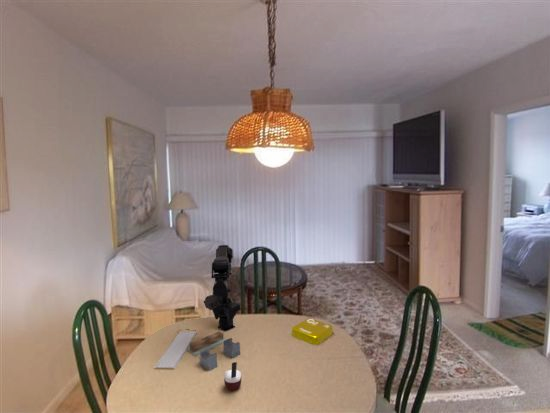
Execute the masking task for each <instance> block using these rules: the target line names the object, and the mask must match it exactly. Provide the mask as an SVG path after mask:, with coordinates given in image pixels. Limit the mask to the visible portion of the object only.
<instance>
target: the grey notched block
mask: <svg viewBox="0 0 550 413" xmlns="http://www.w3.org/2000/svg"><path fill="white" fill-rule="evenodd" d="M210 351H211V349H210V350H209V349H206V350H204V351H201V352H200V354H199V361H200V363H199V364H200V366H201V367H202V368H203V369H205V370H207V371H208V372H210V371H213V370H214V369H216V368H218V354H217V352H214V353H211V352H210Z"/></svg>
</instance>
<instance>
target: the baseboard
mask: <svg viewBox="0 0 550 413" xmlns="http://www.w3.org/2000/svg"><path fill="white" fill-rule="evenodd" d="M180 331H181V329H178V331H177V335H176V336H175V337H174V339H173V341H172V342H171V343H170V345H169V346H168V347H167V349H166V351H165V352H164V353H163V354H162V356H161V358H160V359H159V361H157V363H156V364H155V365H154V367H153V370H173V369H174V370H175V369H176V368H175V367H177V366H178V364H179V362H180V361H181V359H182V358H183V356H184V355H185V353H186V351H187V349H188V348H189V347H190V343H192V341H193V339H194V338H195V336H196V335H197V331H196V329H194V330H193V331H190V329H189V328H187V329H185V331H181V332H180ZM181 357H182V358H181Z"/></svg>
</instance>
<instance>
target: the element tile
mask: <svg viewBox="0 0 550 413" xmlns="http://www.w3.org/2000/svg"><path fill="white" fill-rule="evenodd" d="M333 330H334V329H333V325H331V324H328V323H325V322H323V321H320V320H316V319H313V318H309V317H308V318H306V319H304V320H302V321H300V322H298V323H297V324H296V325H294V326H292V328H291V337H292V338H294V339H297V340H300V341H303V342H305V343H308V344H311V345H313V346H318V345H320V344H322V343H323V342H324V341H326V340H328V339H329V338H330V337H332V336H333Z"/></svg>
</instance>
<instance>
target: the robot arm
mask: <svg viewBox="0 0 550 413" xmlns="http://www.w3.org/2000/svg"><path fill="white" fill-rule="evenodd" d="M233 259H234V250H233V248H231V247H230V246H229V245H228V244H222V245H221V244H220V245H217V248H216V249H215V258H214V259H213V262H211V279H214V283H213V286H212V294H210V295H207V296H205V298H204V301H203V303H204V307H205V308H206V309H208V310H210V311H212V313H213V316H214V318H215V320H218V326H217V328H218V329H219V330H222V331H224V332H228V331H230V330H231V329H234V328H236V326H235V325H234V318H235V316H236V314H237V313H238V312H239V311H241V310H242V309H241V304H240V303H238V302H235V301H234V300H232V298H231V297H230V293H231V289H230V277H231V276H230V275H232V262H233Z"/></svg>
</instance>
